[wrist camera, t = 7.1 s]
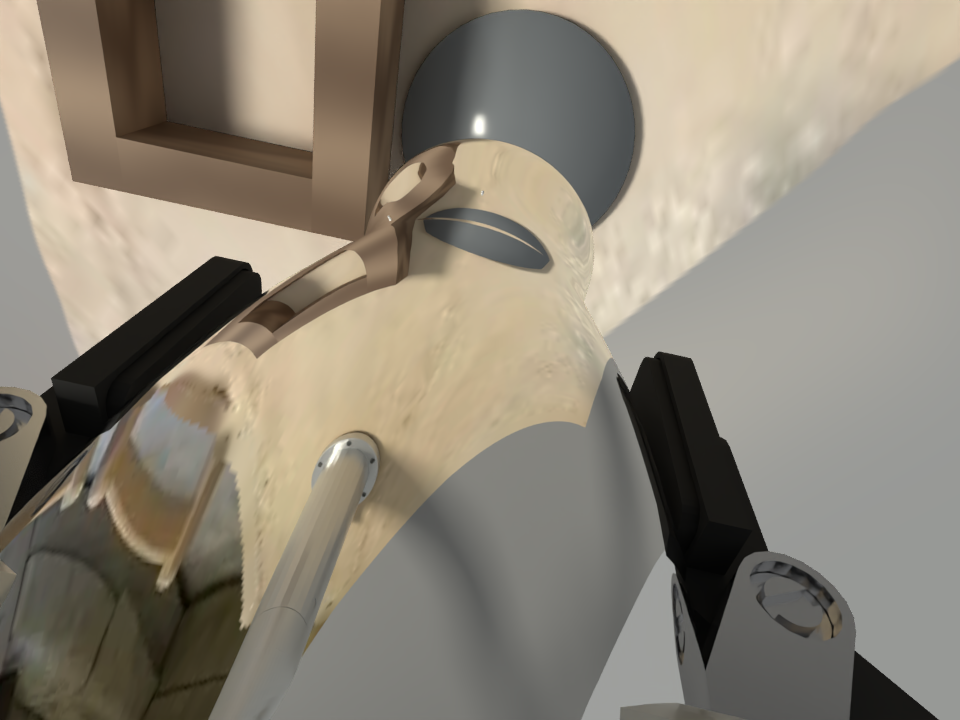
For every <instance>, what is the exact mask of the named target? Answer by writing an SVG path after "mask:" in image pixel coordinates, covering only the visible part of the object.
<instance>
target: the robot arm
mask: <svg viewBox="0 0 960 720" xmlns="http://www.w3.org/2000/svg"><path fill="white" fill-rule="evenodd" d="M261 294H262V287H261V277H260V275H259V274H258V273H255V272H253V270H252V268H251V265H250V264H249V263H246V262H242V261H237V260H232V259H228V258H223V257H218V256H215V257H213V258H211V259H210V260H208V261H207V262H206V263H204V264H203V265H202V266H200V267H199V268H198V269H196V270H195V271H194V272H192V273H191V274H190V275H188V276H187V277H186V278H184V279H183V280H182V281H180V282H179V283H178V284H176V285H175V286H174V287H172V288H171V289H170V290H168V291H167V292H166V293H164V294H163V295H162V296H160V297H159V298H158V299H156V300H155V301H154V302H152V303H151V304H150V305H148V306H147V307H146V308H144V309H143V310H142V311H140V312H139V313H138V314H136V315H135V316H134V317H132V318H131V319H129V320H128V321H127V322H125V323H124V324H123V325H121V326H120V327H119V328H117V329H116V330H115V331H113V332H112V333H111V334H109V335H108V336H107V337H105V338H104V339H103V340H101V341H100V342H99V343H97V344H96V345H95V346H93V347H92V348H91V349H89V350H88V351H87V352H85V353H84V354H83V355H81V356H80V357H79V358H77V359H76V360H75V361H73V362H72V363H71V364H69V365H68V366H67V367H65V368H64V369H63V370H62V371H60V372H59V373H57V374H56V375H55V376H53V377H52V378H51V380H52V383H53V386H52V387H51V388H50V389H48V390H47V391H46V392H44V393H43V394H42V395H41V396H38V395H37V394H35V393H33V392H31V391H29V390H25V389H20V388H16V387H0V532H1V531H2V529H3V528H4V527H5V526H6V525H7V524H8V523H9V522H10V521H11V519H12V518H13V517H14V516H15V515H16V514H17V513H18V512H19V511H20V509H21V508H22V507H23V506H24V505H25V504H26V503H27V502H28V501H29V500H30V499H31V498H32V497H33V496H34V495H35V494H36V493H37V492H38V491H39V490H40V489H41V488H42V487H43V486H44V485H45V484H46V483H47V482H48V481H49V480H50V479H51V478H52V477H53V476H54V475H55V474H56V473H57V472H58V471H59V470H60V468H61V467H62V466H63V465H64V464H65V463H66V462H67V461H68V460H69V459H70V458H71V457H72V456H73V455H74V454H75V453H76V452H77V451H78V450H79V449H80V448H81V447H82V446H83V445H84V444H85V443H86V442H87V441H88V440H89V439H90V438H91V437H92V436H93V435H94V434H95V433H96V432H97V431H98V430H99V429H100V428H101V426H102V425H103V424H104V423H105V422H106V421H107V420H108V419H109V418H110V417H111V416H112V415H113V414H114V413H115V412H116V411H117V410H118V409H119V408H121V407H122V406H123V405H124V404H125V403H126V402H127V401H128V400H129V399H131V398H132V397H133V396H134V395H135V394H136V393H137V392H139V391H140V390H141V389H142V388H143V387H144V386H145V385H146V384H148V383H149V382H150V381H151V380H152V379H153V378H154V377H156V376H157V375H158V374H159V373H160V372H161V371H162V370H164V369H165V368H166V367H167V366H168V365H169V364H170V363H172V362H173V361H174V360H175V359H176V358H177V357H178V356H179V355H181V354H182V353H183V352H184V351H185V350H186V349H187V348H189V347H190V346H191V345H192V344H193V343H194V342H195V341H197V340H198V339H199V338H200V337H201V336H202V335H204V334H205V333H206V332H207V331H209V330H210V329H211V328H213V327H214V326H216V325H217V324H219V323H220V322H222V321H223V320H224V319H226V318H227V317H229V316H230V315H232V314H233V313H235V312H236V311H238V310H239V309H241V308H242V307H244V306H245V305H247V304H248V303H250V302H251V301H253V300H254V299H256V298H257V297H258V296H260V295H261ZM630 394H631V397H632V399H633V401H634V404H635V406H636V409H637V411H638V414H639V416H640V419H641V421H642V424H643V426H644V429H645V431H646V434H647V436H648V439H649V441H650V443H651V446H652V448H653V451H654V453H655V456H656V459H657V461H658V464H659V468H660V471H661V475H662V478H663V482H664V486H665V490H666V494H667V497H668V501H669V505H670V509H671V512H672V516H673V520H674V524H675V528H676V531H677V535H678V539H679V543H680V547H681V550H682V554H683V558H684V562H685V566H686V571H687V575H688V581H689V586H690V591H691V597H692V602H693V607H694V613H695V618H696V624H697V629H698V634H699V640H700V645H701V650H702V656H703V661H704V667H705V672H706V677H707V683H708V688H709V693H710V699H711V706H712V711H709V710H705V709H701V708H697V707H693V706H688V705H684V704H680V703H655V704H644V705H637V706H627V707H620V720H938V719H937V718H936V717H935V716H933V715H932V714H931V713H930V712H928V711H927V710H926V709H925V708H924V707H923V706H921V705H920V704H919V703H918V702H917V701H915V700H914V699H913V698H912V697H910V696H909V695H908V694H907V693H905V692H904V691H903V690H902V689H901V688H900V687H898V686H897V685H896V684H895V683H893V682H892V681H891V680H890V679H888V678H887V677H886V676H885V675H884V674H883V673H881V672H880V671H879V670H878V669H877V668H875V667H874V666H873V665H872V664H870V663H869V662H868V661H867V660H866V659H864V658H863V657H862V656H861V655H859V654H858V653H857V652H856V651H855V637H856V629H855V622H854V617H853V615H852V612H851V610H850V608H849V606H848V604H847V602H846V601H845V599H844V598H843V597H842V596H841V594H840V593H839V592H838V591H837V589H836V588H835V587H834V586H833V585H832V584H831V583H830V582H829V581H828V580H826V579H825V578H824V577H823V576H822V575H821V574H820V573H818V572H817V571H816V570H814V569H812V568H811V567H809V566H808V565H806V564H805V563H803V562H801V561H799V560H796V559H794V558H792V557H790V556H787V555H785V554H780V553H774V552H770V551H768V549H767V546H766V543H765V541H764V538H763V535H762V533H761V530H760V527H759V525H758V522H757V520H756V516H755V514H754V511H753V509H752V506H751V503H750V500H749V498H748V495H747V492H746V489H745V487H744V484H743V482H742V479H741V476H740V474H739V471H738V468H737V465H736V462H735V460H734V457H733V455H732V452H731V449H730V446H729V445H728V443H727V441H726V440H725V439H723V438H721V437H719V434H718V431H717V428H716V425H715V423H714V420H713V417H712V414H711V411H710V409H709V406H708V403H707V400H706V397H705V394H704V392H703V389H702V386H701V383H700V380H699V378H698V375H697V372H696V369H695V366H694V364H693V361H692V359H691V358H687V357H682V356H678V355H673V354H669V353H663V352H658V353H657V354H656V355H655V356H654V358H650V357H645V358H644V359H643V361H642V363H641V365H640V368H639V370H638V373H637V376H636V378H635V381H634V383H633V385H632V388H631V391H630ZM16 575H17V574H16V573H14V572H13V571H12V570H11V569H10V568H9V567H8V566H7V565H5V564H4V563H3V562H2V561H1V560H0V598H1V597H2V595H3V594H4V592H5V591H6V589H7V588H8V586H9V585H10V583H11V582H12V581H13V579H14V578H15V576H16Z"/></svg>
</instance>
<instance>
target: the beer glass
mask: <svg viewBox="0 0 960 720" xmlns="http://www.w3.org/2000/svg"><path fill="white" fill-rule="evenodd" d="M593 265H594V240H593V233H592V228H591V223H590V220H589V217H588V214H587V211H586V209H585V207H584V205H583V203H582V201H581V199H580V197H579V195H578V194H577V192H576V191H575V189H574V188H573V186H572V185H571V184H570V182H569V181H568V180H567V179H566V178H565V177H564V176H563V175H562V173H560V172H559V171H558V170H557V169H556V168H555V167H554V166H553V165H551V164H550V163H549V162H548V161H546V160H545V159H543V158H542V157H540V156H539V155H537V154H535V153H533V152H531V151H529V150H527V149H525V148H523V147H520V146H518V145H515V144H512V143H509V142H505V141H500V140H494V139H486V138H469V139H460V140H454V141H449V142H445V143H442V144H439V145H436V146H433V147H431V148H429V149H427V150H425V151H423V152H421V153H419V154H417V155H416V156H414V157H413V158H411V159H410V160H409V161H407V162H406V163H405V164H404V165H403V166H401V167H400V168H399V169H398V170H397V172H396V173H395V174H394V175H393V176H392V177H391V179H390V180H389V181H388V183H387V184H386V186H385V187H384V189H383V190H382V192H381V194H380V196H379V198H378V200H377V202H376V204H375V206H374V208H373V211H372V213H371V216H370V219H369V222H368V226H367V229H366V233H365V235H364V236H363V237H361V238H359V239H357V240H355V241H354V242H352V243H350V244H348V245H346V246H344V247H342V248H340V249H338V250H336V251H334V252H333V253H331V254H329V255H327V256H325V257H324V258H322V259H320V260H318V261H316V262H315V263H313V264H311V265H309V266H308V267H306V268H304V269H302V270H300V271H299V272H297V273H295V274H293V275H291V276H290V277H288V278H286V279H284V280H283V281H281V282H279V283H278V284H276V285H275V286H273V287H272V288H270V289H269V290H267V291H266V292H264V293H263V294H261V295H260V296H258V297H257V298H256V299H254V300H253V301H251V302H250V303H248V304H247V305H245V306H244V307H242V308H241V309H239V310H238V311H236V312H235V313H233V314H232V315H230V316H229V317H227V318H226V319H224V320H223V321H222V322H220V323H219V324H217V325H216V326H214V327H213V328H211V329H210V330H209V331H207V332H206V333H205V334H204V335H202V336H201V337H200V338H199V339H198V340H197V341H195V342H194V343H193V344H192V345H191V346H190V347H189V348H187V349H186V350H185V351H184V352H183V353H182V354H181V355H179V356H178V357H177V358H176V359H175V360H174V361H173V362H172V363H170V364H169V365H168V366H167V367H166V368H165V369H164V370H162V371H161V372H160V373H159V374H158V375H157V376H156V377H154V378H153V379H152V380H151V381H150V382H149V383H148V384H146V385H145V386H144V387H143V388H142V389H141V390H140V391H139V392H137V393H136V394H135V395H134V396H133V397H132V398H131V399H129V400H128V401H127V402H126V403H125V404H124V405H123V406H122V407H121V408H119V409H118V410H117V411H116V412H115V413H114V414H113V415H112V416H111V417H110V418H109V419H108V420H107V421H106V422H105V423H104V424H103V425H102V426H101V428H100V429H99V430H98V431H97V432H96V433H95V434H94V435H93V436H92V437H91V438H90V439H89V440H88V441H87V442H86V443H85V444H84V445H83V446H82V447H81V448H80V449H79V450H78V451H77V452H76V453H75V454H74V455H73V456H72V457H71V458H70V459H69V460H68V461H67V462H66V463H65V464H64V465H63V466H62V467H61V468H60V470H59V471H58V472H57V473H56V474H55V475H54V476H53V477H52V478H51V479H50V480H49V481H48V482H47V483H46V484H45V485H44V486H43V487H42V488H41V489H40V490H39V491H38V492H37V493H36V494H35V495H34V496H33V497H32V498H31V499H30V500H29V501H28V502H27V503H26V504H25V505H24V506H23V507H22V508H21V509H20V511H19V512H18V513H17V514H16V515H15V516H14V517H13V518H12V519H11V521H10V522H9V523H8V524H7V525H6V526H5V527H4V528H3V529H2V531H1V532H0V560H1V561H2V562H3V563H4V564H5V565H7V566H8V567H9V568H10V569H11V570H12V571H13V572H14V573H16V574H17V575H16V576H15V578H14V579H13V581H12V582H11V583H10V585H9V586H8V588H7V589H6V591H5V592H4V594H3V595H2V597H1V598H0V720H620V707H627V706H637V705H644V704H655V703H680V704H684V705H688V706H693V707H697V708H701V709H705V710H709V711H712V706H711V699H710V693H709V688H708V683H707V677H706V672H705V667H704V661H703V656H702V650H701V645H700V640H699V634H698V629H697V624H696V618H695V613H694V607H693V602H692V597H691V591H690V586H689V581H688V575H687V571H686V566H685V562H684V558H683V554H682V550H681V547H680V543H679V539H678V535H677V531H676V528H675V524H674V520H673V516H672V512H671V509H670V505H669V501H668V497H667V494H666V490H665V486H664V482H663V478H662V475H661V471H660V468H659V464H658V461H657V459H656V456H655V453H654V451H653V448H652V446H651V443H650V441H649V439H648V436H647V434H646V431H645V429H644V426H643V424H642V421H641V419H640V416H639V414H638V411H637V409H636V406H635V404H634V401H633V399H632V397H631V394H630V392H629V389H628V387H627V385H626V382H625V380H624V378H623V377H622V375H621V373H620V371H619V369H618V367H617V365H616V363H615V361H614V359H613V357H612V355H611V353H610V351H609V349H608V347H607V345H606V343H605V341H604V339H603V337H602V335H601V333H600V331H599V329H598V327H597V326H596V324H595V322H594V320H593V318H592V316H591V314H590V313H589V311H588V309H587V307H586V305H585V303H584V300H585V297H586V294H587V291H588V288H589V285H590V281H591V276H592V271H593Z"/></svg>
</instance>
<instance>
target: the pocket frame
mask: <svg viewBox="0 0 960 720" xmlns="http://www.w3.org/2000/svg"><path fill="white" fill-rule="evenodd" d="M404 4H405V0H316V32H315V79H314V125H313V152H308V151H303V150H299V149H294V148H289V147H285V146H280V145H275V144H271V143H266V142H261V141H257V140H252V139H247V138H243V137H238V136H233V135H229V134H224V133H219V132H215V131H210V130H205V129H201V128H196V127H191V126H187V125H182V124H177V123H173V122H168V121H167V117H166V108H165V98H164V89H163V80H162V70H161V61H160V52H159V42H158V33H157V24H156V14H155V5H154V0H37V5H38V10H39V15H40V20H41V25H42V30H43V35H44V40H45V45H46V50H47V55H48V60H49V65H50V70H51V75H52V80H53V85H54V90H55V95H56V100H57V105H58V110H59V115H60V120H61V125H62V130H63V135H64V140H65V145H66V150H67V155H68V160H69V165H70V170H71V175H72V180H73V181H75V182H80V183H85V184H89V185H94V186H99V187H103V188H108V189H113V190H117V191H122V192H127V193H131V194H136V195H141V196H145V197H150V198H155V199H159V200H164V201H169V202H173V203H178V204H182V205H187V206H192V207H196V208H201V209H206V210H210V211H215V212H220V213H224V214H229V215H234V216H238V217H243V218H248V219H252V220H257V221H262V222H266V223H271V224H276V225H280V226H285V227H289V228H294V229H299V230H303V231H308V232H313V233H317V234H322V235H327V236H331V237H336V238H341V239H345V240H350V241H355V240H357V239H359V238H361V237H363V236H364V235H365V233H366V229H367V226H368V222H369V219H370V216H371V213H372V211H373V208H374V206H375V204H376V202H377V200H378V198H379V196H380V194H381V192H382V190H383V189H384V187H385V186H386V184H387V183H388V178H389V167H390V156H391V145H392V134H393V123H394V112H395V102H396V91H397V80H398V69H399V58H400V47H401V36H402V25H403V14H404Z"/></svg>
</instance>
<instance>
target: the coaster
mask: <svg viewBox="0 0 960 720" xmlns="http://www.w3.org/2000/svg"><path fill="white" fill-rule="evenodd" d="M469 138H486V139H494V140H500V141H505V142H509V143H512V144H515V145H518V146H520V147H523V148H525V149H527V150H529V151H531V152H533V153H535V154H537V155H539V156H540V157H542V158H543V159H545V160H546V161H548V162H549V163H550V164H551V165H553V166H554V167H555V168H556V169H557V170H558V171H559V172H560V173H562V175H563V176H564V177H565V178H566V179H567V180H568V181H569V182H570V184H571V185H572V186H573V188H574V189H575V191H576V192H577V194H578V195H579V197H580V199H581V201H582V203H583V205H584V207H585V209H586V211H587V214H588V217H589V220H590V223H591V226H592V225H593V224H595V223H596V222H597V221H598V220H599V219H600V218H601V216H602V215H603V214H604V213H605V212H606V211H607V210H608V208H609V207H610V205H611V204H612V203H613V201H614V200H615V198H616V197H617V195H618V193H619V191H620V189H621V187H622V185H623V183H624V181H625V178H626V176H627V173H628V170H629V167H630V163H631V159H632V155H633V148H634V139H635V125H634V114H633V107H632V102H631V99H630V95H629V92H628V88H627V86H626V84H625V81H624V79H623V77H622V74H621V72H620V71H619V69H618V67H617V66H616V64H615V62H614V61H613V59H612V58H611V56H610V55H609V54H608V53H607V52H606V50H605V49H604V48H603V47H602V46H601V44H600V43H599V42H597V41H596V40H595V39H594V38H593V37H592V36H591V35H590V34H589V33H587V32H586V31H584V30H583V29H581V28H580V27H578V26H577V25H575V24H574V23H572V22H569V21H567V20H565V19H563V18H561V17H559V16H555V15H552V14H548V13H545V12H540V11H533V10H506V11H501V12H495V13H491V14H488V15H485V16H482V17H479V18H476V19H474V20H472V21H470V22H468V23H466V24H464V25H462V26H460V27H459V28H457V29H456V30H455V31H453V32H452V33H450V34H449V35H448V36H446V37H445V38H444V39H443V40H442V41H441V42H440V43H439V44H438V45H437V46H436V47H435V48H434V49H433V50H432V52H431V53H430V54H429V55H428V57H427V58H426V59H425V60H424V62H423V64H422V65H421V67H420V69H419V70H418V72H417V74H416V76H415V78H414V80H413V82H412V85H411V87H410V89H409V93H408V96H407V99H406V103H405V107H404V113H403V120H402V145H403V154H404V159H405V163H406V162H407V161H409V160H410V159H411V158H413V157H414V156H416V155H417V154H419V153H421V152H423V151H425V150H427V149H429V148H431V147H433V146H436V145H439V144H442V143H445V142H449V141H454V140H460V139H469Z"/></svg>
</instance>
